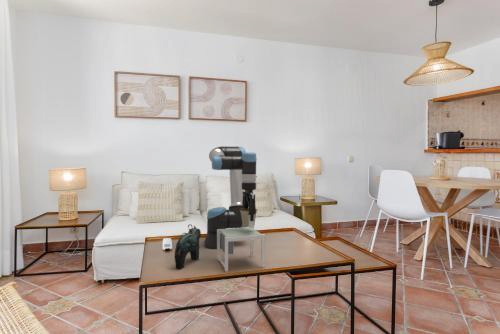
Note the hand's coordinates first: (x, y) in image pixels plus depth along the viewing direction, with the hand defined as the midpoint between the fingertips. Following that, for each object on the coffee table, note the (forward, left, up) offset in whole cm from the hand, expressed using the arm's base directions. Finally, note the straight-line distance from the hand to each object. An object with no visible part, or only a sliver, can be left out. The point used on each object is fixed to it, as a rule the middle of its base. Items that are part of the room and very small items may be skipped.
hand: (248, 225), depth 165 cm
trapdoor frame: (-3, -3, -20) cm, 20 cm away
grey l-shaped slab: (-3, -3, -13) cm, 13 cm away
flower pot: (0, 0, -1) cm, 1 cm away
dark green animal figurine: (-26, -16, -20) cm, 37 cm away
